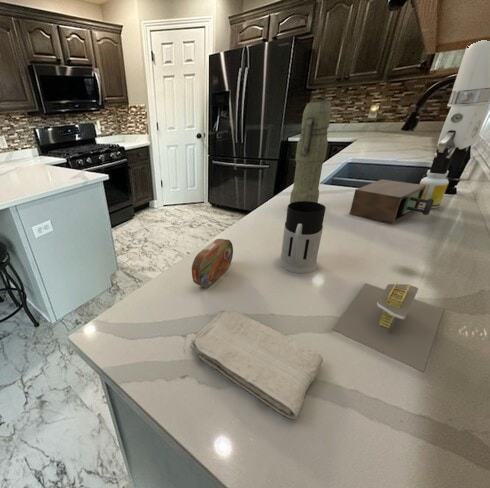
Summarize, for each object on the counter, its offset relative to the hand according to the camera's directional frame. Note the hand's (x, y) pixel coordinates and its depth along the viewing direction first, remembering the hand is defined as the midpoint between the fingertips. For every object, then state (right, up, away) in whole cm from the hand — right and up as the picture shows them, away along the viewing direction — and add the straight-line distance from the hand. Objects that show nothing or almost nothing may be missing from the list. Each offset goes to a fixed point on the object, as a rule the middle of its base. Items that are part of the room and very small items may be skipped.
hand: (445, 169), depth 71 cm
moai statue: (-26, -8, +25) cm, 37 cm away
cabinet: (-5, -10, +15) cm, 19 cm away
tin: (-65, -28, -7) cm, 71 cm away
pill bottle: (+11, -8, +17) cm, 21 cm away
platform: (-36, -34, -24) cm, 55 cm away
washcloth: (-62, -39, -28) cm, 79 cm away
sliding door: (+1, -11, +9) cm, 14 cm away
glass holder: (-45, -27, -8) cm, 53 cm away
